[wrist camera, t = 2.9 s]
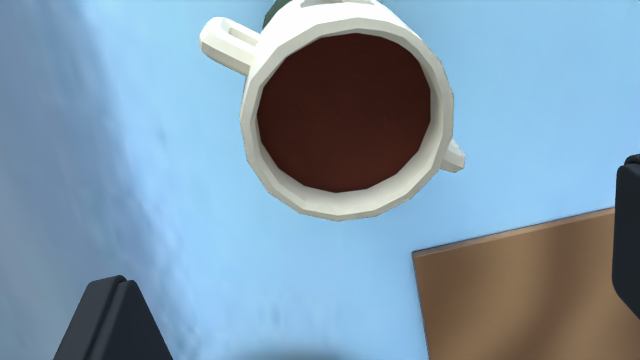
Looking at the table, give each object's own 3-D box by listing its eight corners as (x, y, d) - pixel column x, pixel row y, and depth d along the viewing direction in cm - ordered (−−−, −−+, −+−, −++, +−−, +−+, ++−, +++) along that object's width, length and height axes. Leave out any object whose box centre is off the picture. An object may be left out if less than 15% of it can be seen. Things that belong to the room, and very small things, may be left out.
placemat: (651, 198, 35) (656, 203, 35) (632, 420, 45) (636, 426, 45) (411, 252, 36) (413, 257, 35) (445, 460, 46) (447, 466, 45)
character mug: (439, 26, 29) (548, 105, 18) (372, 136, 32) (429, 269, 20) (254, -78, 26) (239, -65, 15) (197, 53, 29) (147, 152, 17)
